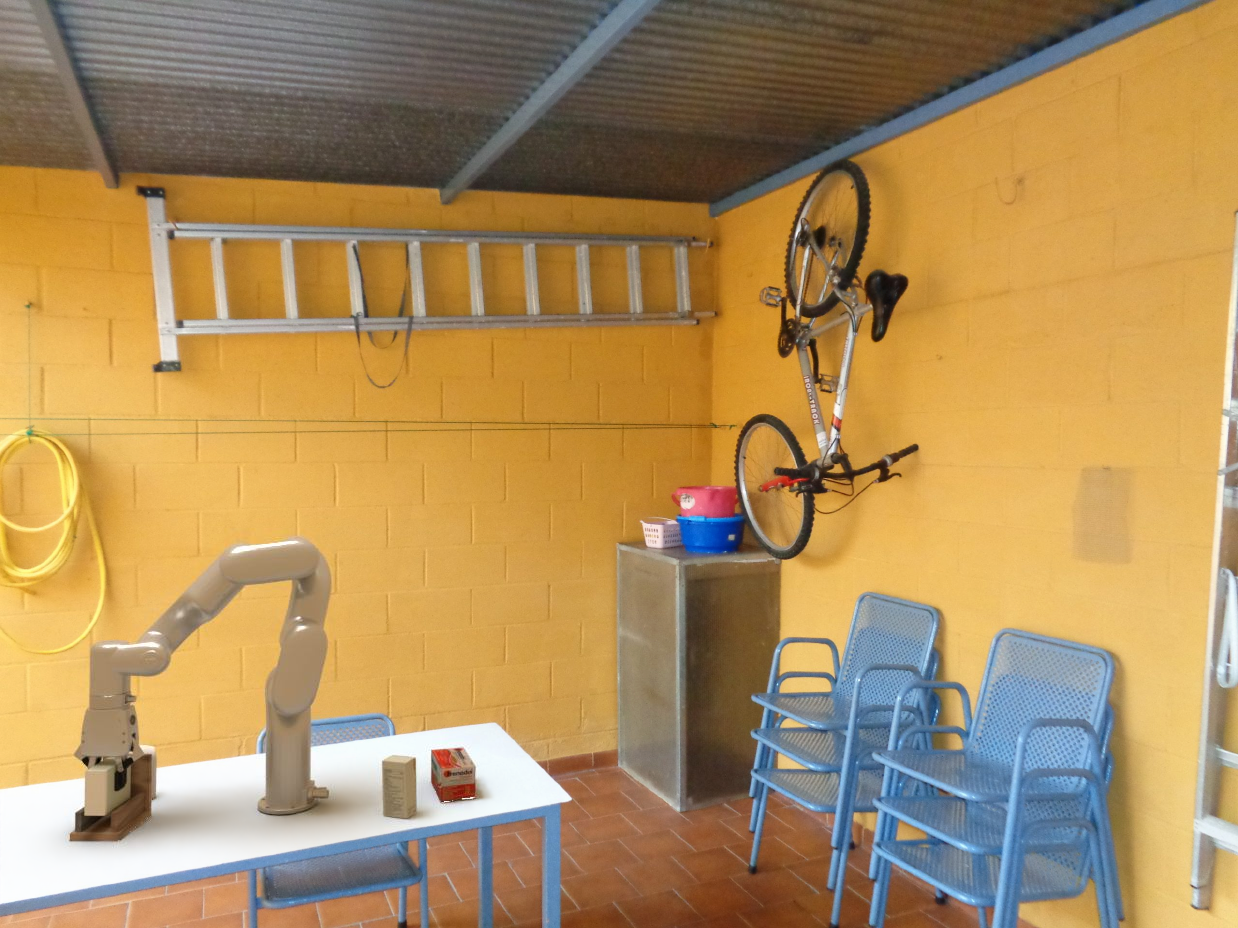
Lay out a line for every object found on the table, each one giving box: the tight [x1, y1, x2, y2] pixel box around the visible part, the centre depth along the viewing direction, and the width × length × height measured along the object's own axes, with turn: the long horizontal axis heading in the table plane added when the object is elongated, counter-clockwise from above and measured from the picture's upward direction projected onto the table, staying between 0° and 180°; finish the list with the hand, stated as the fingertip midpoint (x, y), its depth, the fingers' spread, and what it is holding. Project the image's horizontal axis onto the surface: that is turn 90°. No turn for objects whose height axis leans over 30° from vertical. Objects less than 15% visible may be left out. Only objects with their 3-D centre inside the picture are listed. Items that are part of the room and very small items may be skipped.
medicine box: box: [430, 746, 477, 803], centre depth 217 cm, size 15×8×8 cm, turn 21°
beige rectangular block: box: [83, 756, 131, 816], centre depth 192 cm, size 4×10×9 cm, turn 0°
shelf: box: [69, 754, 152, 842], centre depth 193 cm, size 10×13×14 cm
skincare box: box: [381, 754, 418, 819], centre depth 202 cm, size 6×4×12 cm
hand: (108, 787), depth 192 cm, fingers closed on beige rectangular block, 4 cm apart
